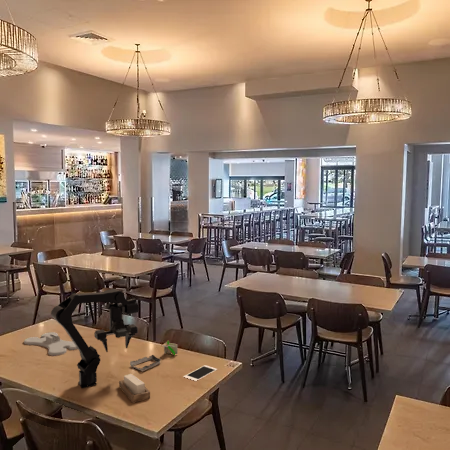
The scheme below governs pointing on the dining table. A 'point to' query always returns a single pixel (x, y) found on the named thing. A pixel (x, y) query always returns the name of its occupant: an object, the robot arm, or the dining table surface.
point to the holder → (51, 343)
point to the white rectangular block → (134, 384)
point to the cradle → (131, 395)
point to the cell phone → (200, 373)
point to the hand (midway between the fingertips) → (116, 350)
